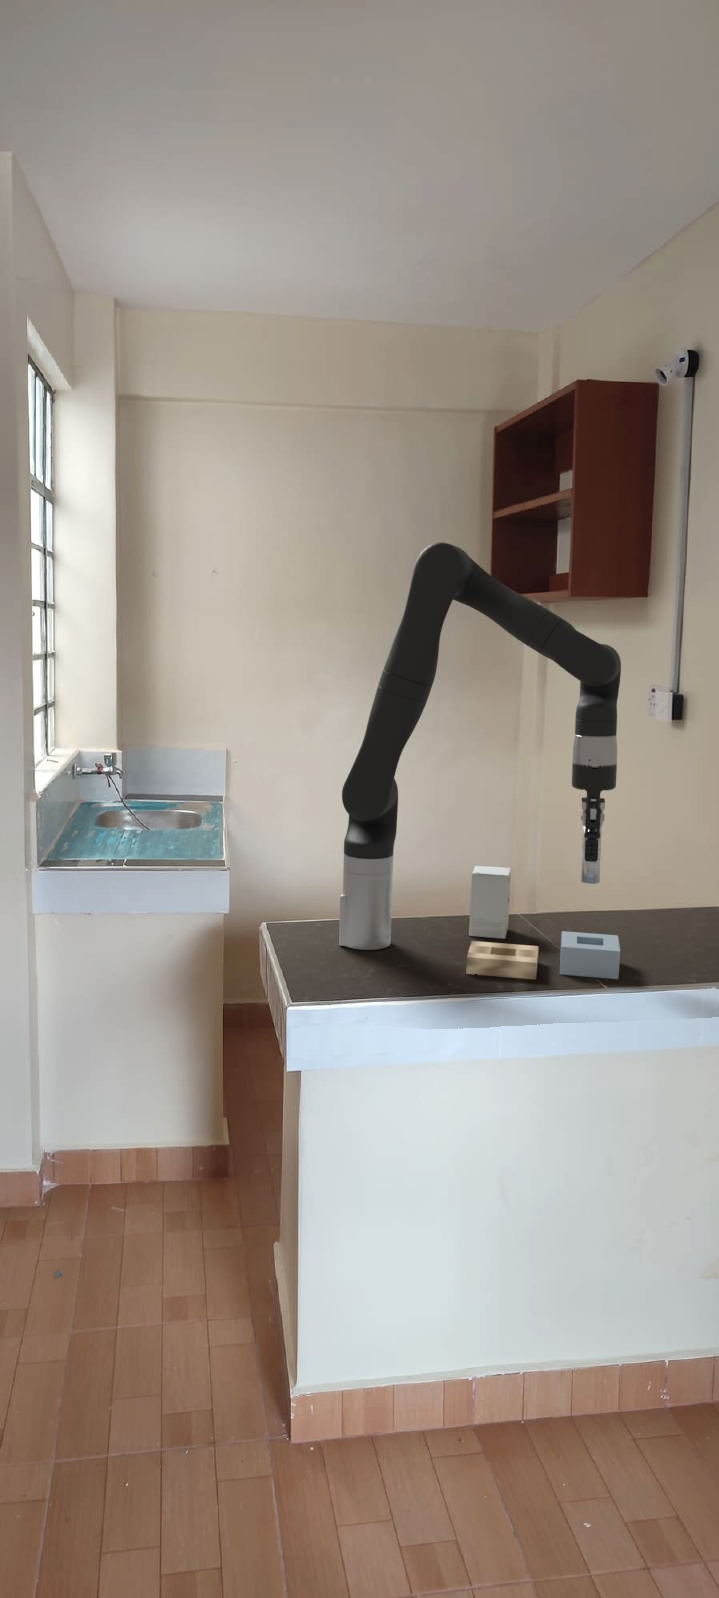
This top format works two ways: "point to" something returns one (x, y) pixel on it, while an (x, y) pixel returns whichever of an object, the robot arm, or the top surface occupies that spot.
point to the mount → (502, 960)
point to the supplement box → (489, 901)
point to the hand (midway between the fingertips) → (591, 858)
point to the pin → (590, 869)
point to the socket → (590, 955)
